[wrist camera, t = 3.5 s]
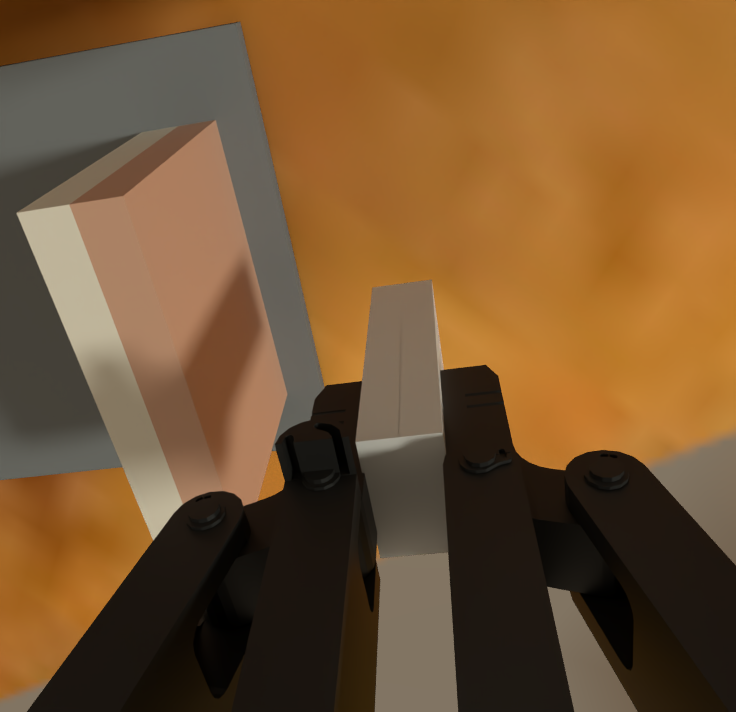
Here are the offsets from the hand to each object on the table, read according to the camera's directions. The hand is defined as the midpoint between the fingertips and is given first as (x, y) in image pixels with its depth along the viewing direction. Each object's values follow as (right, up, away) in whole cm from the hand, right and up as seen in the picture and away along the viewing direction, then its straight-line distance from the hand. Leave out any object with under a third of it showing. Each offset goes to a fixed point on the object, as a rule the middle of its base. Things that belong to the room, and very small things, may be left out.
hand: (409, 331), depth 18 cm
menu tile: (-6, +2, +6) cm, 9 cm away
